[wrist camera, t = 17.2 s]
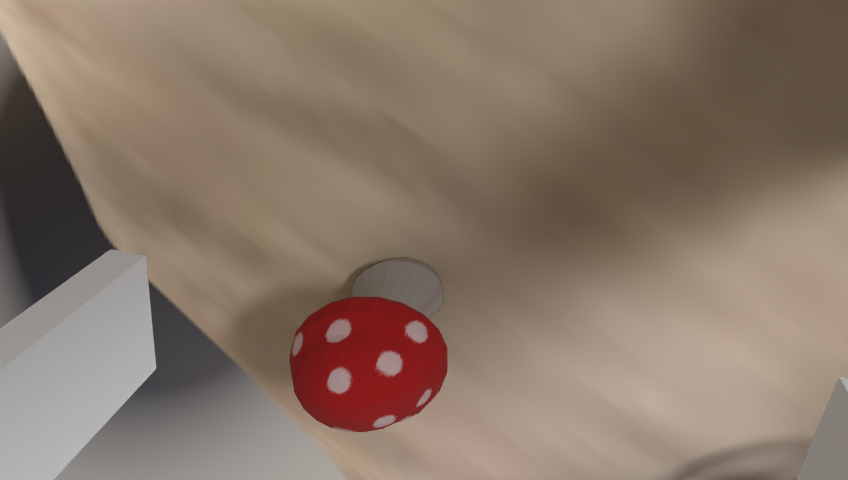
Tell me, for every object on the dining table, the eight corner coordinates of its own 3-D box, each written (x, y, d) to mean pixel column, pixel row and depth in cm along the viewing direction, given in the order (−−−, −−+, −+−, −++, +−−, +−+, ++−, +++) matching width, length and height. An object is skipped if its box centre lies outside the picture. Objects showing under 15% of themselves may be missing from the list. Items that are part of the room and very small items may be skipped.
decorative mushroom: (454, 224, 49) (415, 333, 36) (477, 329, 52) (449, 467, 39) (323, 242, 52) (240, 351, 38) (352, 342, 55) (285, 476, 41)
